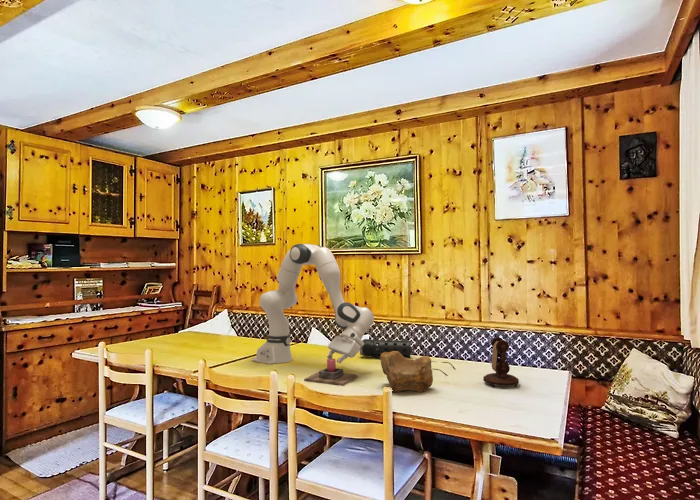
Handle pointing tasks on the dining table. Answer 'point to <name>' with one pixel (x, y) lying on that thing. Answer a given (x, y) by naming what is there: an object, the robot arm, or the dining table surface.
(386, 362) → the rough brown rock
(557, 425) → the dining table surface
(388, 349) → the muzzle brake
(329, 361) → the candle
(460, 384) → the dining table surface
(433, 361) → the eyeglasses
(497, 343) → the dark brown ornamental stand
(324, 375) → the candle board
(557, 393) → the dining table surface
